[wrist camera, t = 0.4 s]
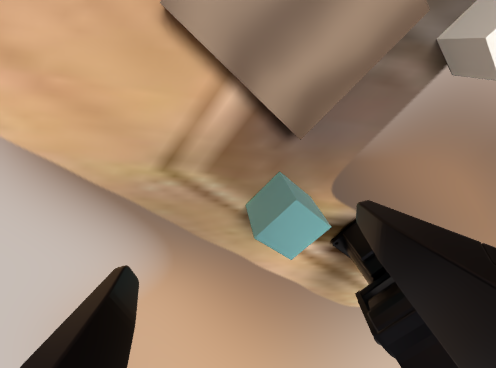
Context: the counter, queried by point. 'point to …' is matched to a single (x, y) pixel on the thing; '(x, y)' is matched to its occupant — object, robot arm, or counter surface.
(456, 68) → the cream block
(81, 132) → the counter surface
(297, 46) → the walnut base
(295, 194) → the teal block
